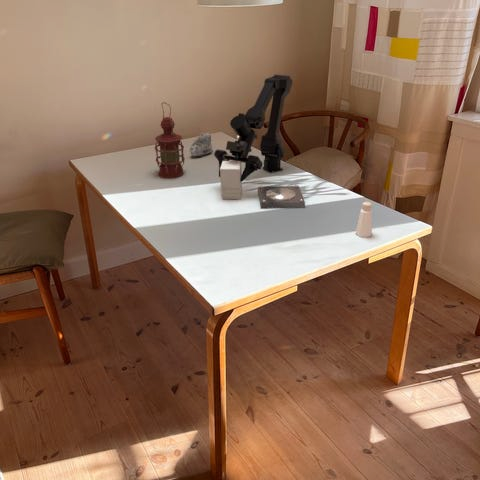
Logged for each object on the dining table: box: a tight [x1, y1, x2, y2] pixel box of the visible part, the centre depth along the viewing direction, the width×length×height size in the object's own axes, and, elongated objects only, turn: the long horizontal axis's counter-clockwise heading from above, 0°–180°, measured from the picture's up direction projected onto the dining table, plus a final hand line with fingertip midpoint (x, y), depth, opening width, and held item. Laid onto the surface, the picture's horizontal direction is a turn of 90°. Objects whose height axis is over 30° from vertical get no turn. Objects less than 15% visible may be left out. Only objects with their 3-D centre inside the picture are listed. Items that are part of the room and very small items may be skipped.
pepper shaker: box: [355, 201, 373, 238], centre depth 168 cm, size 5×5×11 cm
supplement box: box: [219, 160, 243, 200], centre depth 197 cm, size 7×7×13 cm
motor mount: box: [257, 184, 306, 209], centre depth 196 cm, size 16×16×3 cm
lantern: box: [154, 101, 185, 179], centre depth 214 cm, size 12×12×30 cm
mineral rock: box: [189, 132, 214, 157], centre depth 242 cm, size 13×11×10 cm
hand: (230, 179), depth 196 cm, fingers closed on supplement box, 9 cm apart
